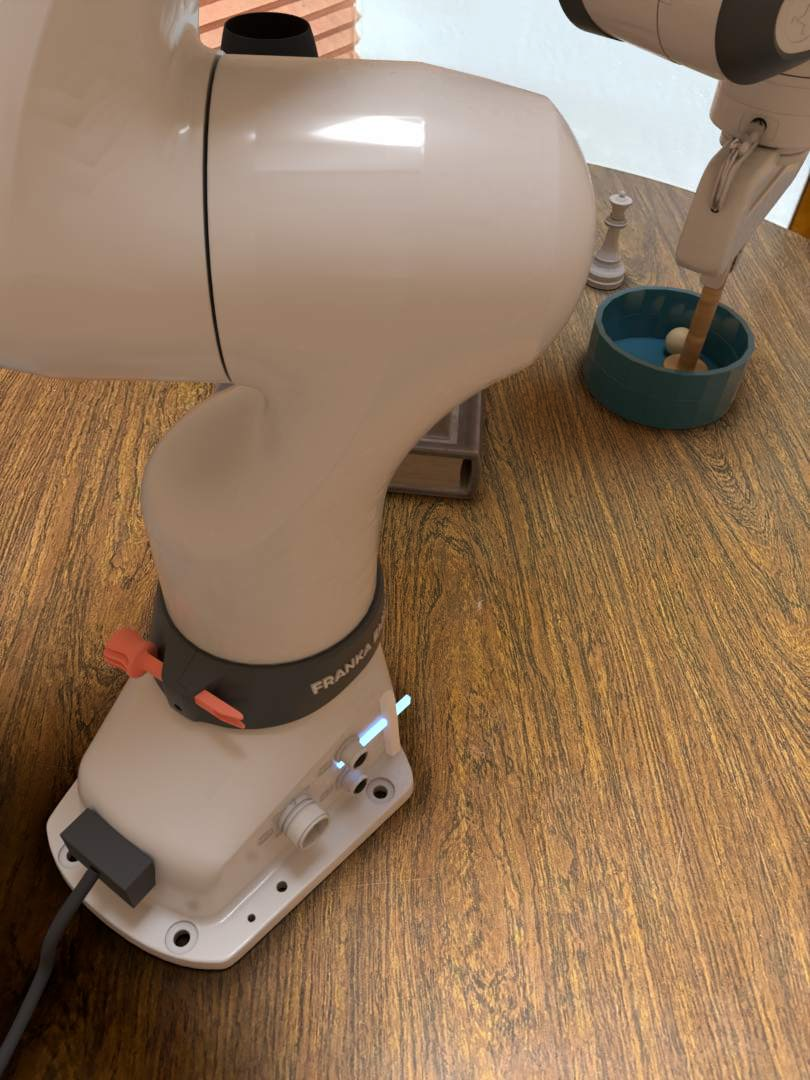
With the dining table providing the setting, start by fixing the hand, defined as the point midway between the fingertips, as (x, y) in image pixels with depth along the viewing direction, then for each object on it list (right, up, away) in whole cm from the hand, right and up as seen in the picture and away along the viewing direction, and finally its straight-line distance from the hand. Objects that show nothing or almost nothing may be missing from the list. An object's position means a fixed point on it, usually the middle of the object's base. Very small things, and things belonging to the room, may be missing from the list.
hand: (717, 275), depth 71 cm
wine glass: (-41, +16, +30) cm, 53 cm away
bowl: (-2, -7, +11) cm, 13 cm away
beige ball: (+1, -3, +12) cm, 12 cm away
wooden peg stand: (-1, -7, +8) cm, 11 cm away
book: (-30, -7, +10) cm, 32 cm away
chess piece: (-4, +7, +23) cm, 25 cm away
